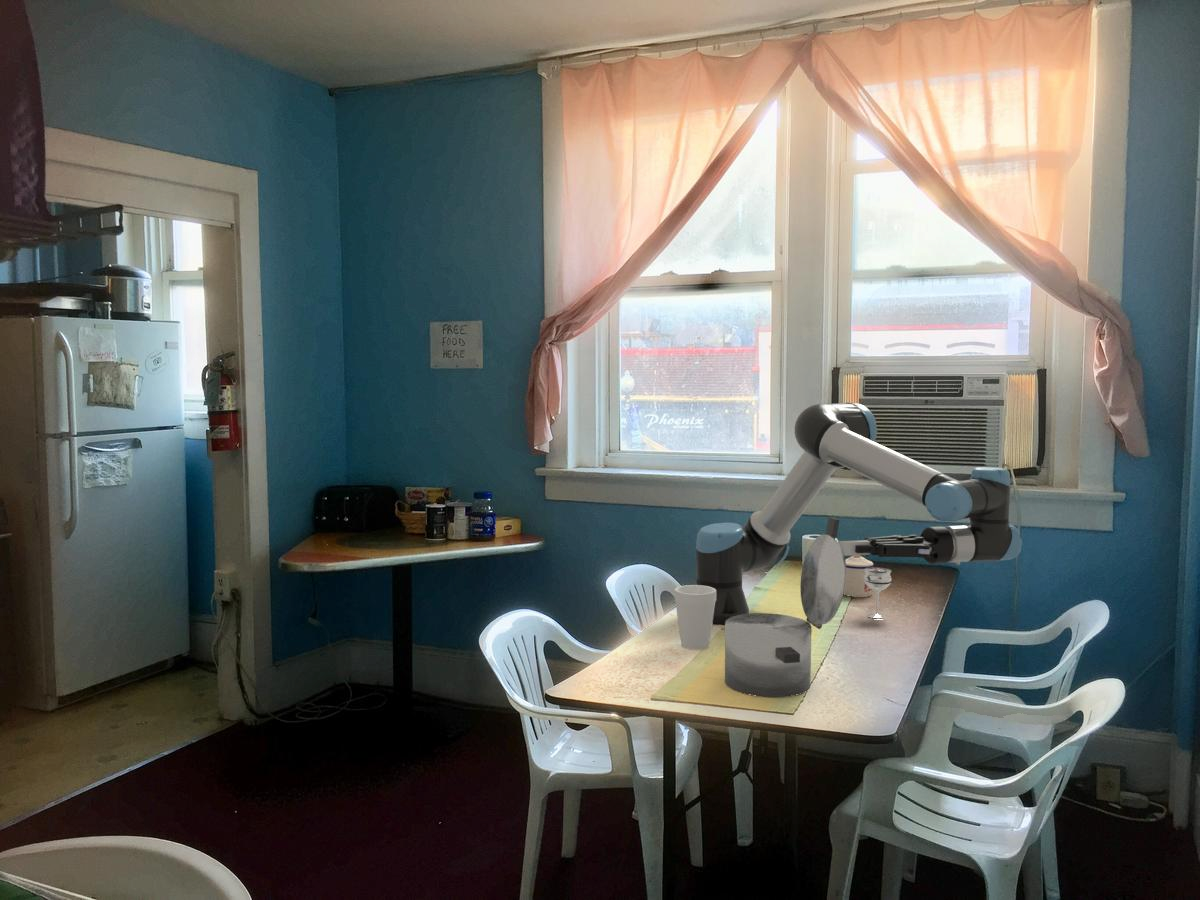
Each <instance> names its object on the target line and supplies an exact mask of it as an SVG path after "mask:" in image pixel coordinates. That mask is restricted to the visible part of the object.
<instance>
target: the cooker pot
mask: <svg viewBox="0 0 1200 900" xmlns="http://www.w3.org/2000/svg"><path fill="white" fill-rule="evenodd" d="M724 625H725V627H724V683H725V685H726V686H727V687H728V688H729V689H731V690H733V691H734V692H735V691H736V692H737V693H740V692H741V693H740V694H744V693H745V694H744V695H748V694H751V695H750V696H753V695H756V696H755V697H759V696H762V698H763V697H764V698H788V697H787V696H789V697H792V696H791V695H795V696H797V695H796V694H799V695H801V694H800V693H802V694H804V693H806V692H808V691H809V690H810V689H811V675H812V674H811V672H812V671H811V668H812V624H810V623H809V622H807V620H805V619H803V618H799V617H796V616H792V615H789V614H788V615H786V614H778V613H767V612H765V613H764V612H761V613H760V612H759V613H756V612H755V613H749V614H742V615H737V616H733V617H731V618H729V619H727V620H726V622H725V624H724ZM808 689H809V690H808ZM807 690H808V691H807ZM805 691H806V692H805ZM803 692H804V693H803ZM785 696H786V697H785Z"/></svg>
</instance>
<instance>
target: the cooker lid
mask: <svg viewBox="0 0 1200 900" xmlns="http://www.w3.org/2000/svg"><path fill="white" fill-rule="evenodd" d="M839 526H840V519H837V518H835V517H831V516H828V519H827V524H826V529H825V534H821V535H818V536H817V537H816V538H815V539H813V541H812V543H811V544H810V545H809V547H808V550H807V552H806V554H805V557H804V561H803V564H802V570H801V575H800V600H801V605H802V610H803V613H804V615H805V616H806V620H805V621H807V622H808V623H810V624H811V626H813V627H815V628H816V629H819V630H820V629H822V627H823V625H826V624H828V623H829V622H830V621H832V620H833V619H834V617H836V614H837V613H838V611H839V608H840V606H841V603H842V601H843V597H844V595H843V594H844V589H845V582H846V561H845V559H846V556H845V555H844V551H843V548H842V545H841V543H840V542H839V541H840V540H839V539H838V537H837V536H838V531H839Z"/></svg>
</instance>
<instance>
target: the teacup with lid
mask: <svg viewBox="0 0 1200 900" xmlns="http://www.w3.org/2000/svg"><path fill="white" fill-rule="evenodd" d="M845 561H846V582H845V589H844V594H845V595H849V596H852V597H851V598H868V596H869V597H871V596H872V595H873V589H871V588H869V587H868V586H867V585H866V584H865V581H864V575H865V573H866V572H865V570H864V569H866V568H874V566H875V565H874V562H872V561H871V560H868V559H866V558H865V557H864V556H862V555H851V556H850V557H848V558H845ZM845 595H844V596H845ZM849 596H848V597H849Z"/></svg>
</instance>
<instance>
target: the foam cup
mask: <svg viewBox="0 0 1200 900" xmlns="http://www.w3.org/2000/svg"><path fill="white" fill-rule="evenodd" d="M674 601H675V606H676V613H677V622H678V629H679V631H678V632H679V638H680V645H681V647H682V648H684V649H686V650H695V651H697V650H698V651H700V650H706V649H708V648H709V647H710V643H711V641H710V640H711V636H712V635H711V634H712V629H713V623H712V622H713V615H714V608H715V601H716V589H715V588H712V587H709V586H702V585H696V584H690V585H689V584H688V585H687V584H686V585H681V586H680V585H679V586H677V587H675V588H674Z"/></svg>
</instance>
